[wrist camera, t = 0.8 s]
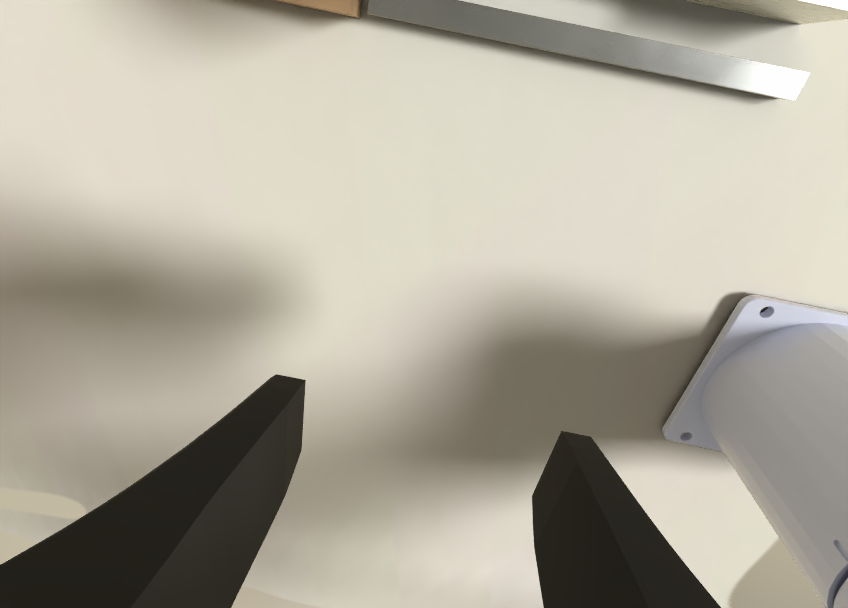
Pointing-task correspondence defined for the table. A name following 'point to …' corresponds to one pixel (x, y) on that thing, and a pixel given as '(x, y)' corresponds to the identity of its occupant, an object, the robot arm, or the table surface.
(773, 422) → the robot arm
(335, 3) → the frame
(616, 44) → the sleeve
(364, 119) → the table surface
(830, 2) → the grey notched block
